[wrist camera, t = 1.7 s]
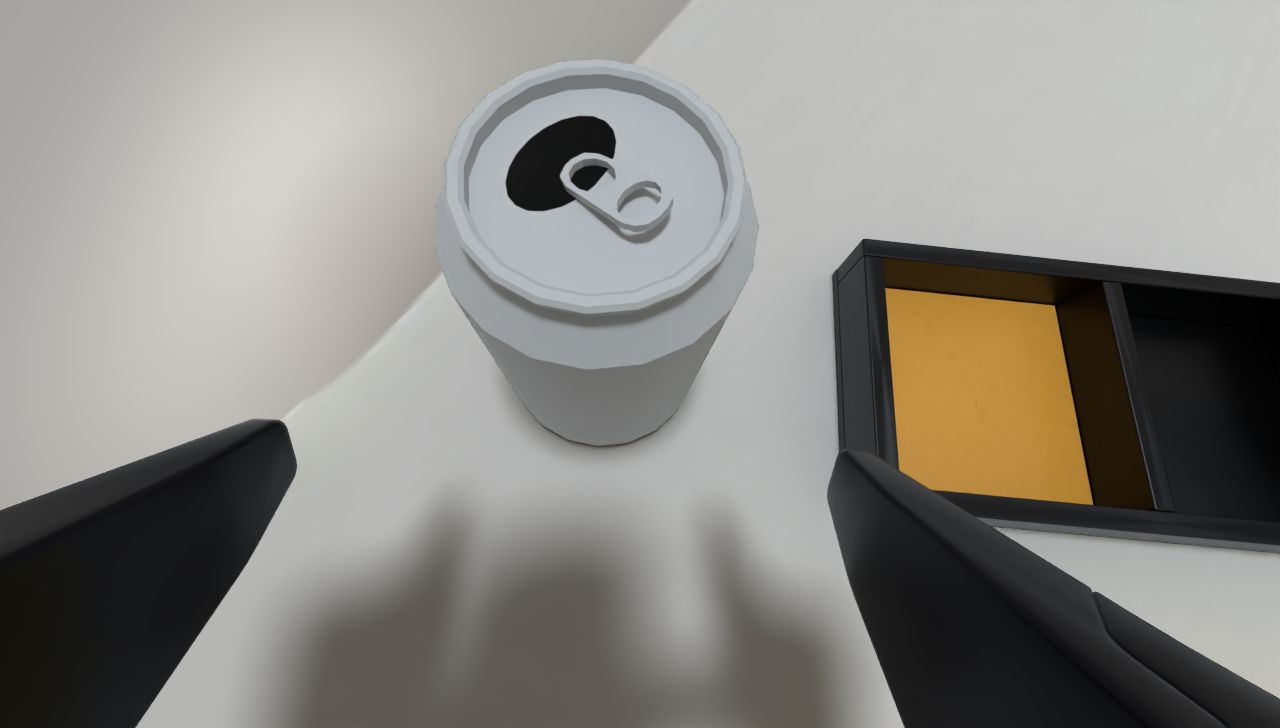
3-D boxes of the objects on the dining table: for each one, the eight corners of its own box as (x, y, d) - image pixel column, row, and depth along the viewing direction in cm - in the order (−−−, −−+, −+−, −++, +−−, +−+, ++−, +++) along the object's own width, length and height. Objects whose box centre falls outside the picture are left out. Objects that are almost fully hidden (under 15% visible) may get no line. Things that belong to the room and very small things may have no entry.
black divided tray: (832, 273, 24) (863, 237, 21) (1260, 318, 24) (1347, 289, 21) (842, 512, 20) (880, 508, 17) (1341, 558, 21) (1456, 562, 18)
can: (592, 250, 23) (575, -23, 12) (726, 349, 22) (850, 150, 11) (475, 372, 21) (320, 182, 10) (617, 488, 20) (626, 425, 9)
